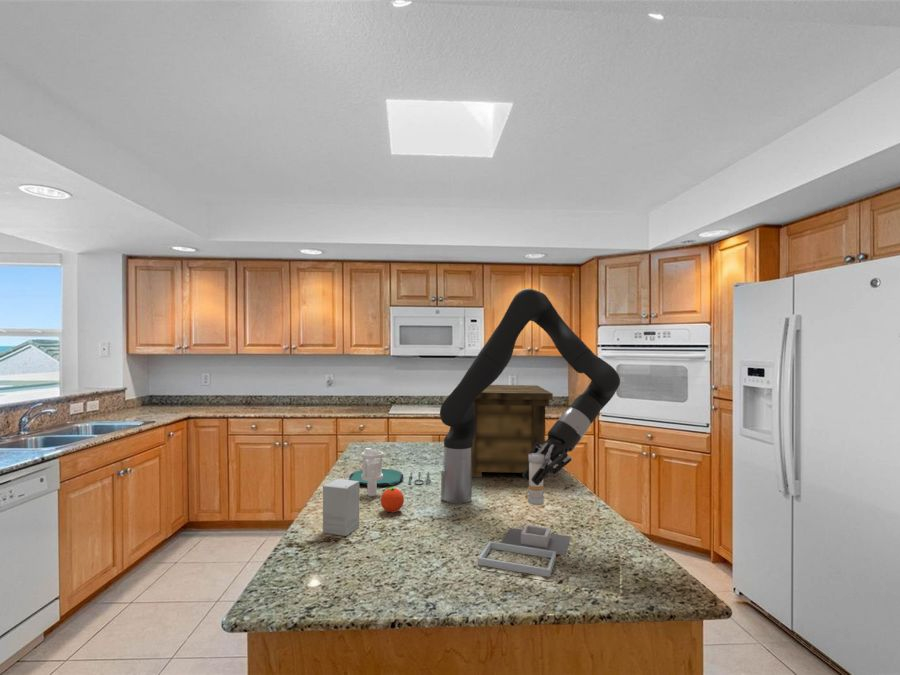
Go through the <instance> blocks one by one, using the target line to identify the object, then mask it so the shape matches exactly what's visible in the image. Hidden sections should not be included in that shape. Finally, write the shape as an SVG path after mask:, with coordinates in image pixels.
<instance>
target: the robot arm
mask: <svg viewBox="0 0 900 675" xmlns="http://www.w3.org/2000/svg"><path fill="white" fill-rule="evenodd" d="M530 322H533V323H535V324H536V325H537V326H538V327H540V328H541V329H542V330H544V332H546V334H547V335H548V336H549V338H550V339H551V341H552V343H553V344H554V346H555V348H556V349H557V351H558V352H559V354H560V355H561V357H562V358H563V359H564V361H566V363H567V364H569V365H570V367H571V368H572V369H573V370H574V371H575V372H577V374H583V375H585V376H586V377H587V378H589V379H590V383H589V384H588V386H587V387H586V389H585V390H584V391H583V392H582V393H581V394H579V395H578V396H577V397H576V398H575V399H574V400H573V401H572V403H571V405H569V407H568V408H567V409H566V410H565V411H564V412H562V414H561V415H560V417H559V418H558V419H557V420H556V421H555V423H554V424H553V425H552V427H551V428H550V429H549V430H548V432H547V435H548V436H547V439H545V442H544V443H543V444H538V443H537V442H536V443H534V445H533V448H532V450H531V452H530V454H531V453H539V454H543V455H544V463H543V465H542V466H541V468H542V469H541V468H540V469H539V470H538V471H537V472H536V474H535V475H534V476H533V477H532V481H533V483H534V484H536V485H539V483H541V482H542V480H543V481H544V479H545V478H546V477H547V476H548V475H550V474H552V475H556V474H557V473H558V472H559V471H561V470H562V469H563V468H565V467H566V465H569V463H570V462H572V458H571V456H570V455H569V454H568V453H570V452H572V451H573V450H574V449H575V447H576V446H577V445H578V444H579V442H580V441H581V440H582V438H583V437H584V435H585V434H586V433H587V431H588V429H590V426H591V425H592V424H593V422H594V421H595V419H596V418H597V417H598V416H599V414H600V412H601V410H603V408H605V406H607V404H608V403H609V402H610V401H611V400H612V398H613V397H614V396H615V394H616V392H617V391H618V388H619V387H620V383H621V378H620V375H619V373H618V372H617V370H616V369H615V368H614V367H613V366H612V365H610V364H609V363H608V362H606V361H605V360H604V359H602V358H601V357H599V356H597V355H596V354H595V353H594V352H593V351H592V350H591V349H590V348H589V347H588V346H587V344H585V342H584V341H583V340H582V339H581V338H580V337H579V336H578V335H577V334H576V333H575V332H574V331H573V330H572V329H571V327H570V326H569V325H568V324H567V323H566V322H565V320H564V319H563V318H562V317H561V315H560V314H559V313H558V311H557V310H556V308H555V307H554V305H553V303H552V302H551V301H550V299H549V297H547V295H546V294H545V293H543V292H541V291H538V290H536V289H533V288H523V289H521V290H520V291H518V292H517V293H516V294H515V295H514V297H513V298H512V300H511V302H510V304H509V305H508V308H507V309H506V312H505V313H504V315H503V317H502V319H501V320H500V322H499V323H498V326H497V327H496V328H495V329H494V330H493V332H492V334H491V335H490V337H489V338H488V340H487V341H486V342H485V344H484V345H483V347H482V348H481V350H480V351H479V352H478V354H477V356H476V357H475V359H474V361H473V362H472V363H471V365H470V367H469V368H468V370H467V371H466V372H465V374H464V376H463V378H462V379H461V380H460V382H459V383H458V384H457V385H456V387H455V388H454V390H453V391H452V392H451V393H450V394H448V396H447V397H446V398H445V399H444V401H443V402H442V404H441V405H440V406H441V407H440V410H439V418H440V420H441V422H442V423H443V424H444V425H445V426H447V427H449V431H448V432H447V434H446V435H445V437H444V439H443V469H442V470H441V472H440V473H441V474H440V476H441V479H440V480H441V483H440V486H441V488H440V489H441V491H440V493H441V494H440V500H441V501H445V502H447V503H451V504H465V503H469V502H471V501H472V489H473V487H472V486H473V484H472V483H473V479H472V478H473V477H472V441H473V439H474V435H475V420H476V411H475V406H474V403H473V401H474V400H475V399H476V397H477V396H478V395H479V394H480V393H481V392H482V391H484V390H485V389H486V388H487V387H488V386H489V385H493V383H494V382H495V381H496V380H497V379H498V378H499V377H500V375H501V374H502V373H503V371H504V370H505V368H506V367H507V365H508V364H509V362H510V361H511V360H512V356H513V354H514V350H515V345H516V342H517V340H518V337H519V336H520V334H521V332H522V331H523V330H524V329H525V328H526V326H527V325H528V324H529V323H530ZM527 460H528V458H527ZM522 477H523V479H525V481H528V482H529V466H528V467H527V469H526V470H525V471H524V473H522Z"/></svg>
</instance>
